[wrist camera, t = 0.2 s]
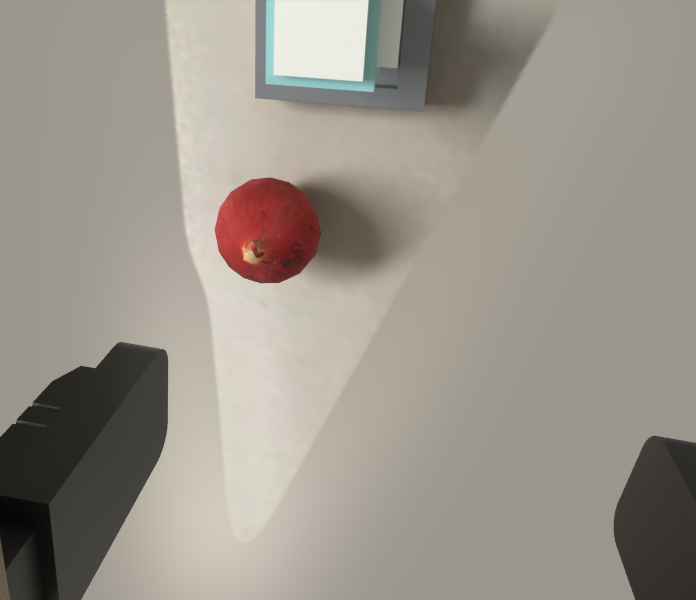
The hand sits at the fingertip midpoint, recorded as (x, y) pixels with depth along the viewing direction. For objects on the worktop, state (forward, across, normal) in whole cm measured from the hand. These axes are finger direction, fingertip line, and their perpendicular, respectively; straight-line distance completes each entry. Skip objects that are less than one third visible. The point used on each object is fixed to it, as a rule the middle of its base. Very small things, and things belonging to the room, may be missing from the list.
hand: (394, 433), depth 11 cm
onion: (+28, +7, +7) cm, 30 cm away
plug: (+28, +4, -4) cm, 28 cm away
